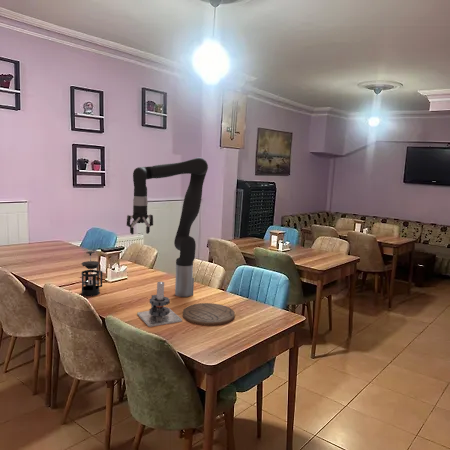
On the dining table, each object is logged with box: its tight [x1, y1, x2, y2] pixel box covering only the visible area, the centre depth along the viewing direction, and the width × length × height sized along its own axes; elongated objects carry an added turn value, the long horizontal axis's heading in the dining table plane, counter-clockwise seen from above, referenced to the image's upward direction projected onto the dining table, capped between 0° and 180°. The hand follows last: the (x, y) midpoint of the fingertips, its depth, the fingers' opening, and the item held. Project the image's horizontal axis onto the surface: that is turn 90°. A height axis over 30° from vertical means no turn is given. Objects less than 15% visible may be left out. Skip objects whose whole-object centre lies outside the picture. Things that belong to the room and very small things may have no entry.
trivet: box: [182, 302, 236, 327], centre depth 197 cm, size 25×25×2 cm
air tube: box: [156, 281, 165, 317], centre depth 189 cm, size 3×3×16 cm
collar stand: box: [136, 294, 183, 328], centre depth 190 cm, size 16×16×9 cm
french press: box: [80, 251, 103, 298], centre depth 218 cm, size 12×9×23 cm
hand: (139, 233), depth 223 cm, fingers open, 8 cm apart
